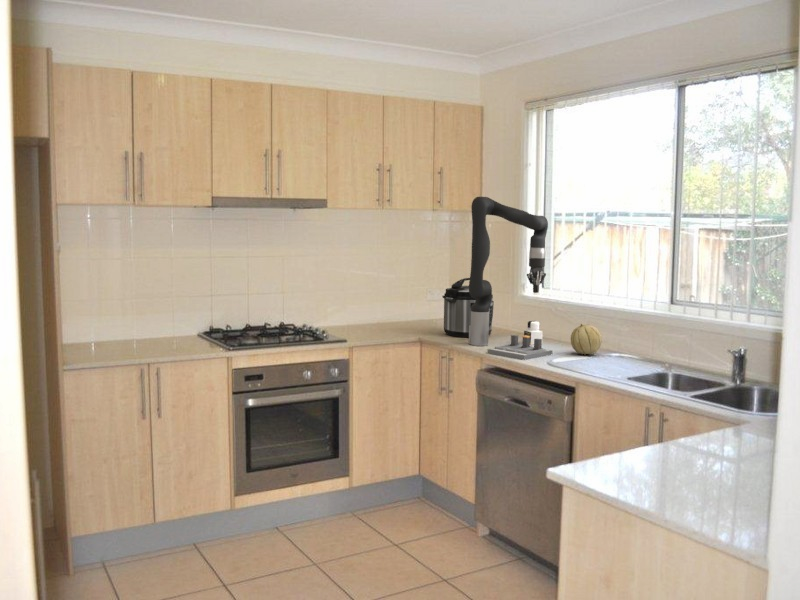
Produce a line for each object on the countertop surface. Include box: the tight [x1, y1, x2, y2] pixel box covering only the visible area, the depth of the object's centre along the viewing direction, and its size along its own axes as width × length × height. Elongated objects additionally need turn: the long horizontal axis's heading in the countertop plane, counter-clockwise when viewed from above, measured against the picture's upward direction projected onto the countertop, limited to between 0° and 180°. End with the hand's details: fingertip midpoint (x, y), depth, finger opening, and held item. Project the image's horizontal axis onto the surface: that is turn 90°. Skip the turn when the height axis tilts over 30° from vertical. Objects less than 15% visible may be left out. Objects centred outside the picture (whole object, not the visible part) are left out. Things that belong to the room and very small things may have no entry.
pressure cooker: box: [441, 277, 494, 338], centre depth 419 cm, size 30×28×32 cm
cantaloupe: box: [570, 323, 603, 356], centre depth 363 cm, size 15×15×15 cm
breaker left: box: [509, 334, 520, 346], centre depth 370 cm, size 3×3×6 cm
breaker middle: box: [521, 335, 531, 349], centre depth 365 cm, size 3×3×6 cm
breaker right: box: [533, 338, 543, 351], centre depth 360 cm, size 3×3×6 cm
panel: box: [486, 343, 553, 361], centre depth 362 cm, size 22×22×3 cm
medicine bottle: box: [523, 320, 544, 346], centre depth 392 cm, size 7×7×12 cm
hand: (535, 292), depth 367 cm, fingers closed
